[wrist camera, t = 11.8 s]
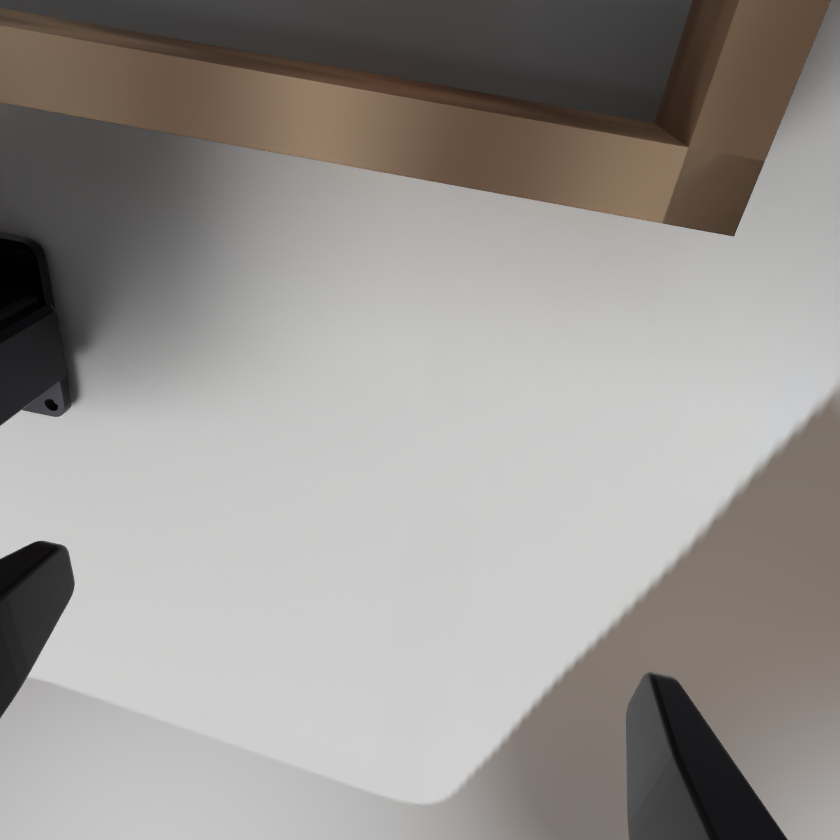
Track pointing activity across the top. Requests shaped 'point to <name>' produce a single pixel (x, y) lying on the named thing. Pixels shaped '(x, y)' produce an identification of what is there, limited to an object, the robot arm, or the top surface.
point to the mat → (436, 41)
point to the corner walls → (449, 111)
